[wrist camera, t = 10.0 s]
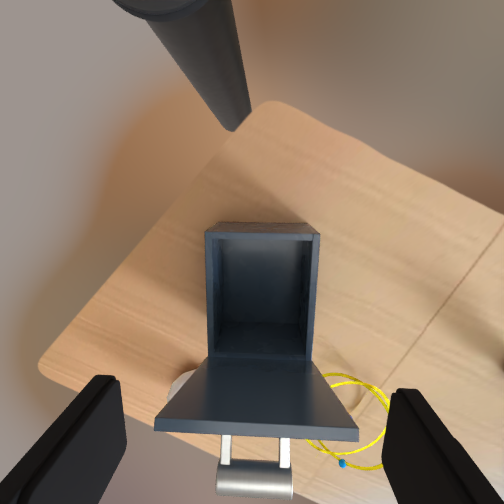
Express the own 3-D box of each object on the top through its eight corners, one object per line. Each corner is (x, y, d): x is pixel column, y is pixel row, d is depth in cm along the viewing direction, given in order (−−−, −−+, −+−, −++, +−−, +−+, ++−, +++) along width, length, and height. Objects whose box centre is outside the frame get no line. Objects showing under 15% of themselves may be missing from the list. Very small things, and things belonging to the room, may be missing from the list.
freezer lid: (154, 417, 17) (147, 518, 17) (359, 428, 17) (361, 532, 16) (207, 356, 34) (204, 405, 33) (312, 360, 33) (312, 410, 32)
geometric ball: (202, 380, 48) (174, 428, 43) (179, 353, 44) (145, 404, 39) (237, 391, 44) (211, 446, 39) (215, 363, 40) (183, 421, 35)
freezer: (218, 221, 39) (204, 231, 30) (308, 223, 38) (320, 233, 30) (219, 323, 42) (208, 357, 34) (302, 326, 42) (311, 361, 33)
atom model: (344, 455, 46) (270, 431, 44) (372, 367, 48) (303, 340, 46) (405, 531, 33) (303, 502, 30) (441, 405, 35) (348, 370, 32)
